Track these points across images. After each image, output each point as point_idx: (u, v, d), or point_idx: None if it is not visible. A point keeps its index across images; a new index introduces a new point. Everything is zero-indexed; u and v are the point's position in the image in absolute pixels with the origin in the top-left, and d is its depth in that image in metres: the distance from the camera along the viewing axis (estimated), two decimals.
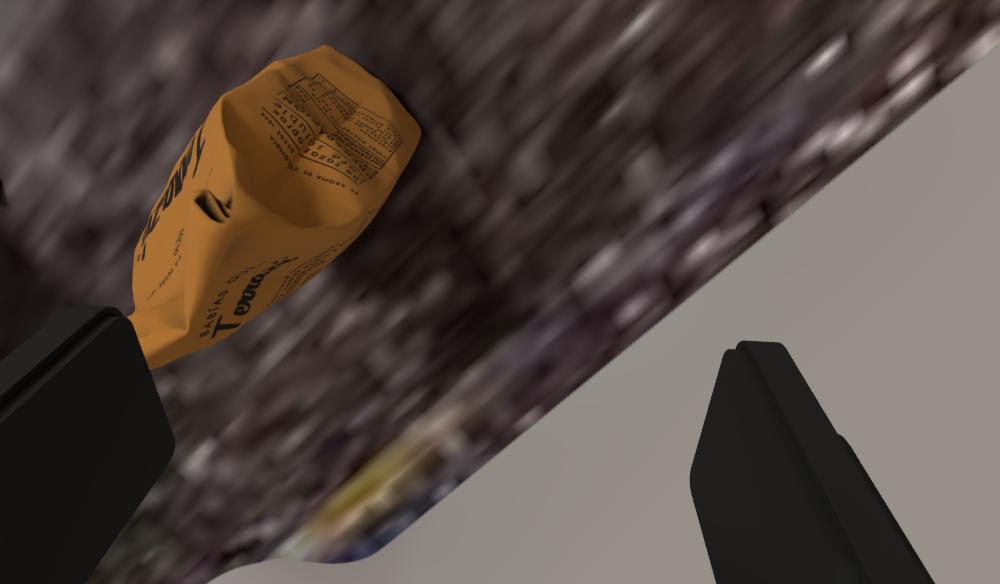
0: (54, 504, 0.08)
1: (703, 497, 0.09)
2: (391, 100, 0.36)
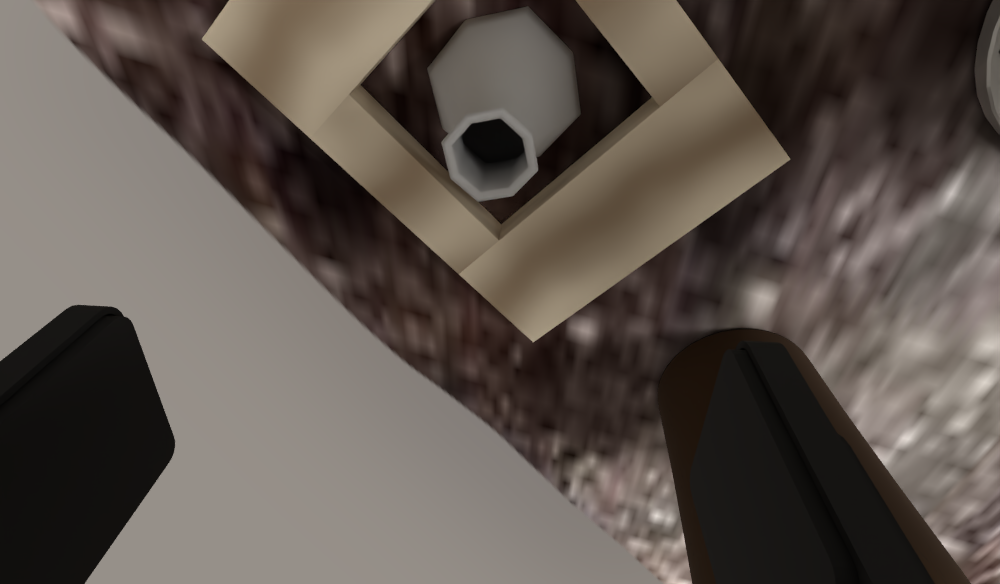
0: (54, 504, 0.08)
1: (703, 497, 0.09)
2: None
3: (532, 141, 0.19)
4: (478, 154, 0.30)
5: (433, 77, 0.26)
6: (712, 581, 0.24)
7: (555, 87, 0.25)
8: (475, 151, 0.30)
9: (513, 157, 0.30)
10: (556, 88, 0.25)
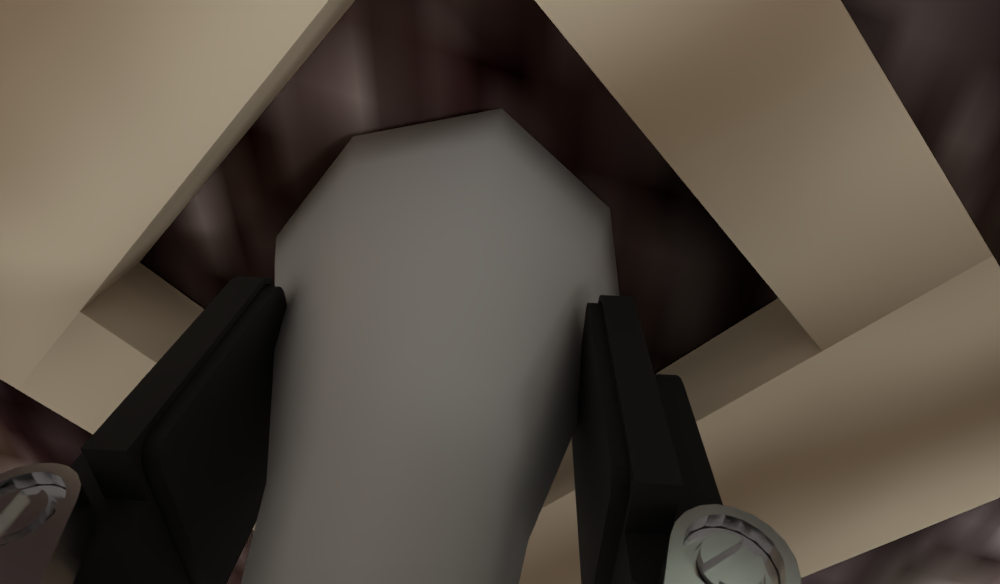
0: (239, 451, 0.08)
1: (575, 440, 0.10)
2: None
3: None
4: None
5: (276, 275, 0.11)
6: None
7: (571, 329, 0.10)
8: None
9: None
10: (574, 334, 0.10)
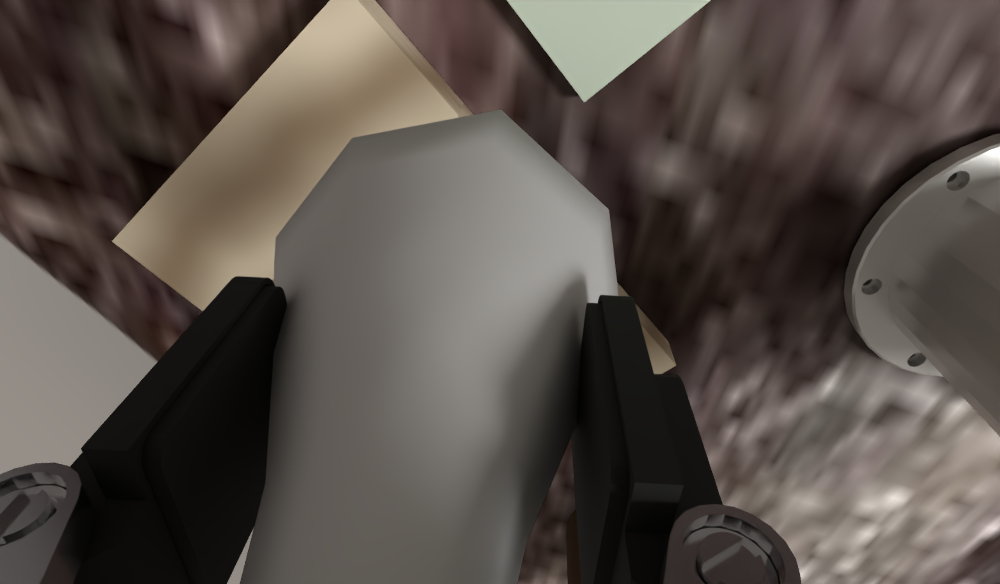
0: (239, 451, 0.08)
1: (575, 439, 0.10)
2: None
3: None
4: None
5: (275, 276, 0.11)
6: None
7: (570, 330, 0.10)
8: None
9: None
10: (573, 335, 0.10)
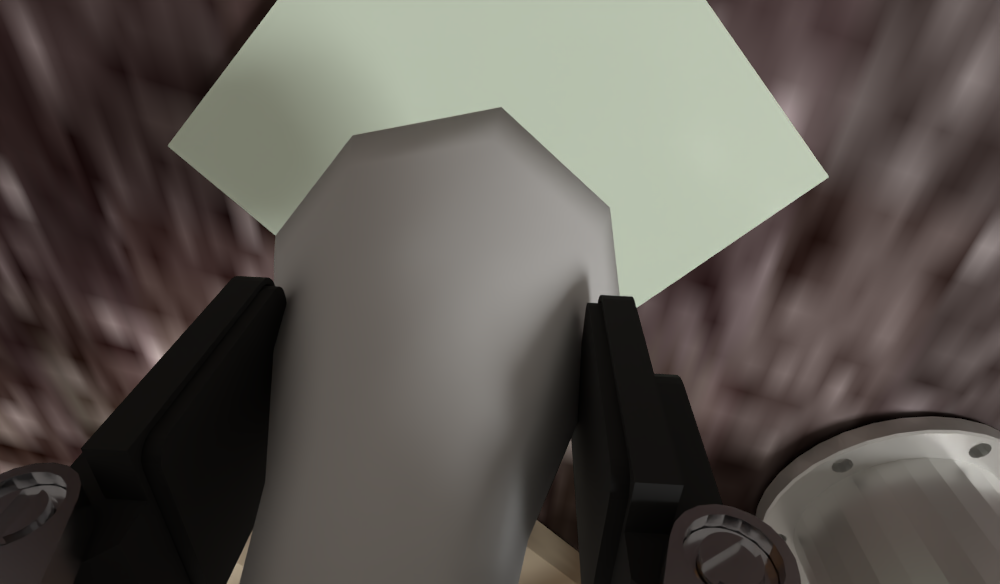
0: (239, 451, 0.08)
1: (575, 439, 0.10)
2: None
3: None
4: None
5: (275, 274, 0.11)
6: None
7: (571, 328, 0.10)
8: None
9: None
10: (574, 333, 0.10)
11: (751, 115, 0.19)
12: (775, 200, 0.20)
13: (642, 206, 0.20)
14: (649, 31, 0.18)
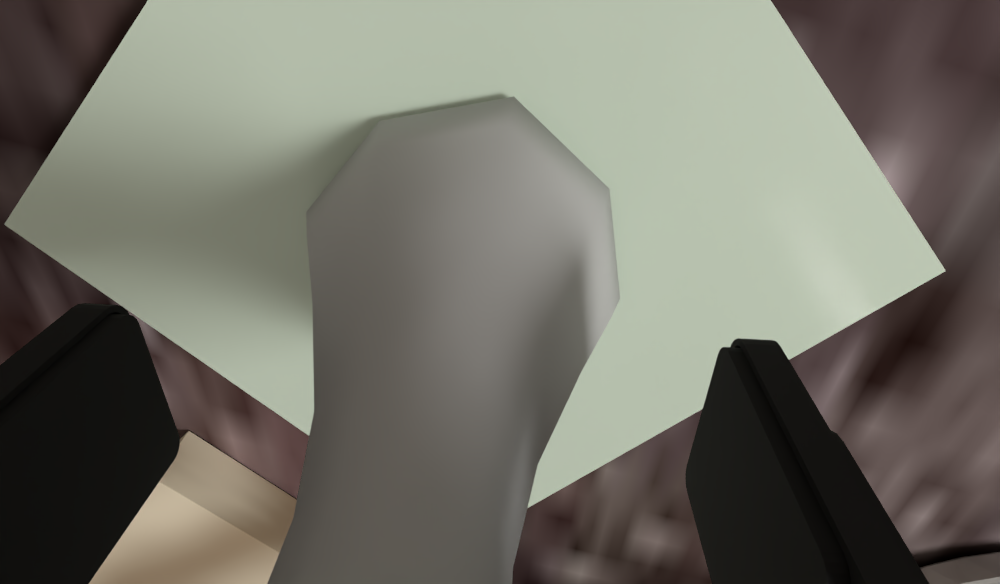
0: (61, 501, 0.08)
1: (699, 494, 0.09)
2: None
3: None
4: None
5: (308, 245, 0.12)
6: None
7: (575, 291, 0.11)
8: None
9: None
10: (577, 295, 0.11)
11: (840, 187, 0.13)
12: (866, 300, 0.14)
13: (677, 307, 0.15)
14: (696, 68, 0.12)
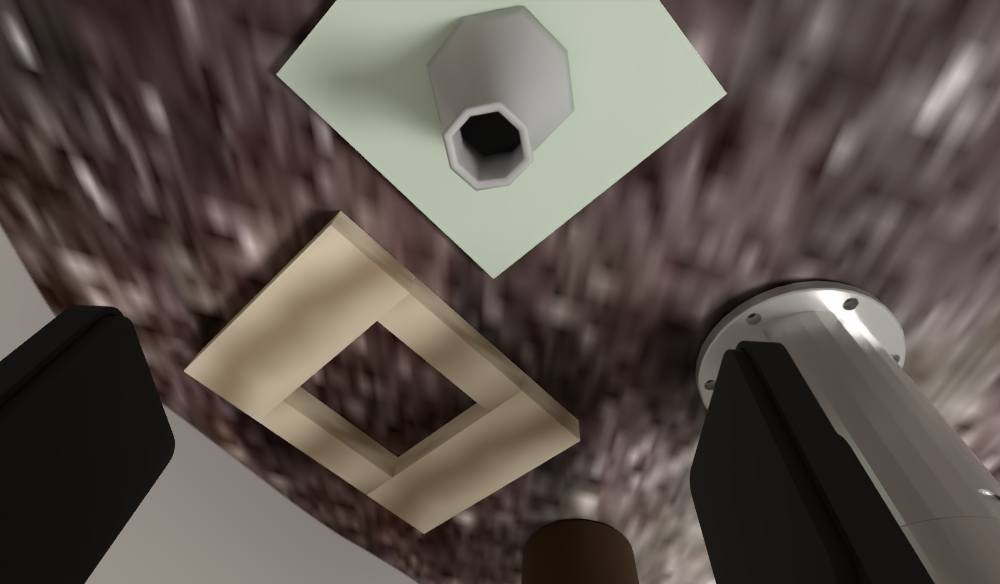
0: (54, 504, 0.08)
1: (703, 497, 0.09)
2: None
3: (528, 133, 0.21)
4: (475, 148, 0.31)
5: (432, 73, 0.28)
6: None
7: (550, 83, 0.26)
8: (472, 145, 0.31)
9: (509, 151, 0.31)
10: (551, 84, 0.26)
11: (672, 50, 0.28)
12: (692, 111, 0.29)
13: (602, 116, 0.30)
14: None
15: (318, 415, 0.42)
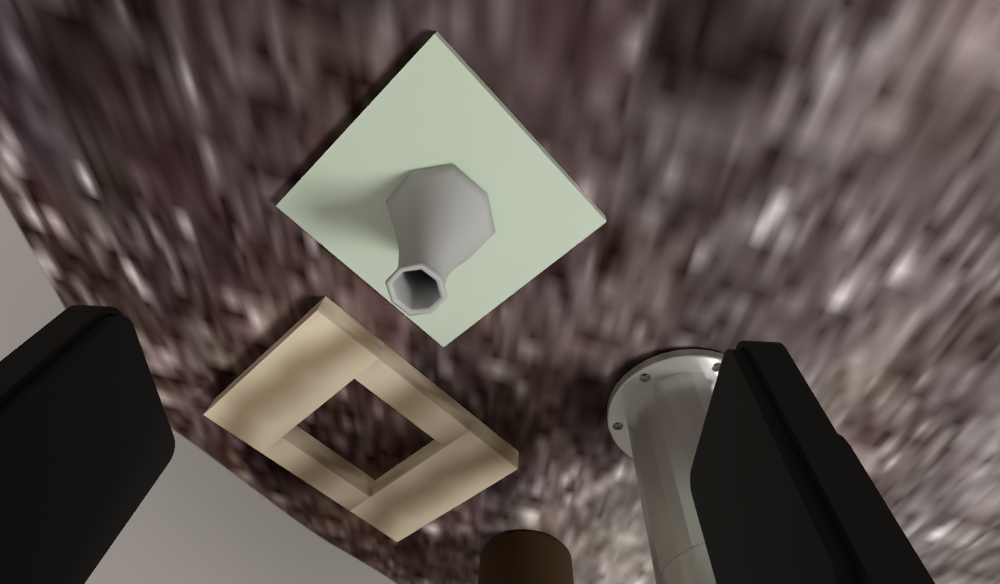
0: (54, 504, 0.08)
1: (703, 497, 0.09)
2: None
3: (442, 282, 0.31)
4: None
5: (389, 211, 0.38)
6: None
7: (471, 224, 0.37)
8: None
9: None
10: (471, 225, 0.37)
11: (563, 192, 0.38)
12: (582, 232, 0.40)
13: (517, 235, 0.40)
14: (510, 156, 0.37)
15: (310, 448, 0.52)
